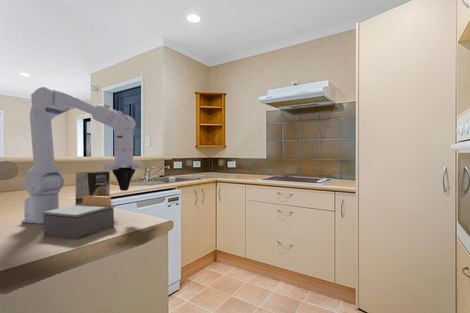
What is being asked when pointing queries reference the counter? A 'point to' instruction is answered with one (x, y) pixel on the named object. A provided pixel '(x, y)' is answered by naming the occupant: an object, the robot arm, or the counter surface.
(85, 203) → the box lid
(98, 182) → the coffee box
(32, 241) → the counter surface
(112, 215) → the grey box
